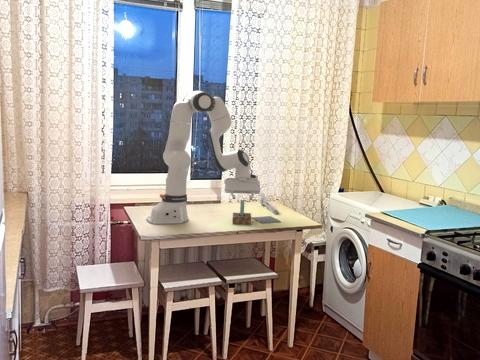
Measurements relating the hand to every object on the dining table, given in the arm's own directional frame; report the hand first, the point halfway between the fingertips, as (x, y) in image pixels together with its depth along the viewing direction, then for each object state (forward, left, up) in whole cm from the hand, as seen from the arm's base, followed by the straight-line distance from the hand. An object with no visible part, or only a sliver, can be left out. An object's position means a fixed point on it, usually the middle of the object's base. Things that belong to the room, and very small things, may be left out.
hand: (242, 198), depth 258 cm
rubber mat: (+13, -5, -12) cm, 18 cm away
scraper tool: (-2, -5, -12) cm, 13 cm away
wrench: (+27, +20, -12) cm, 36 cm away
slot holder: (-2, -5, -12) cm, 13 cm away
